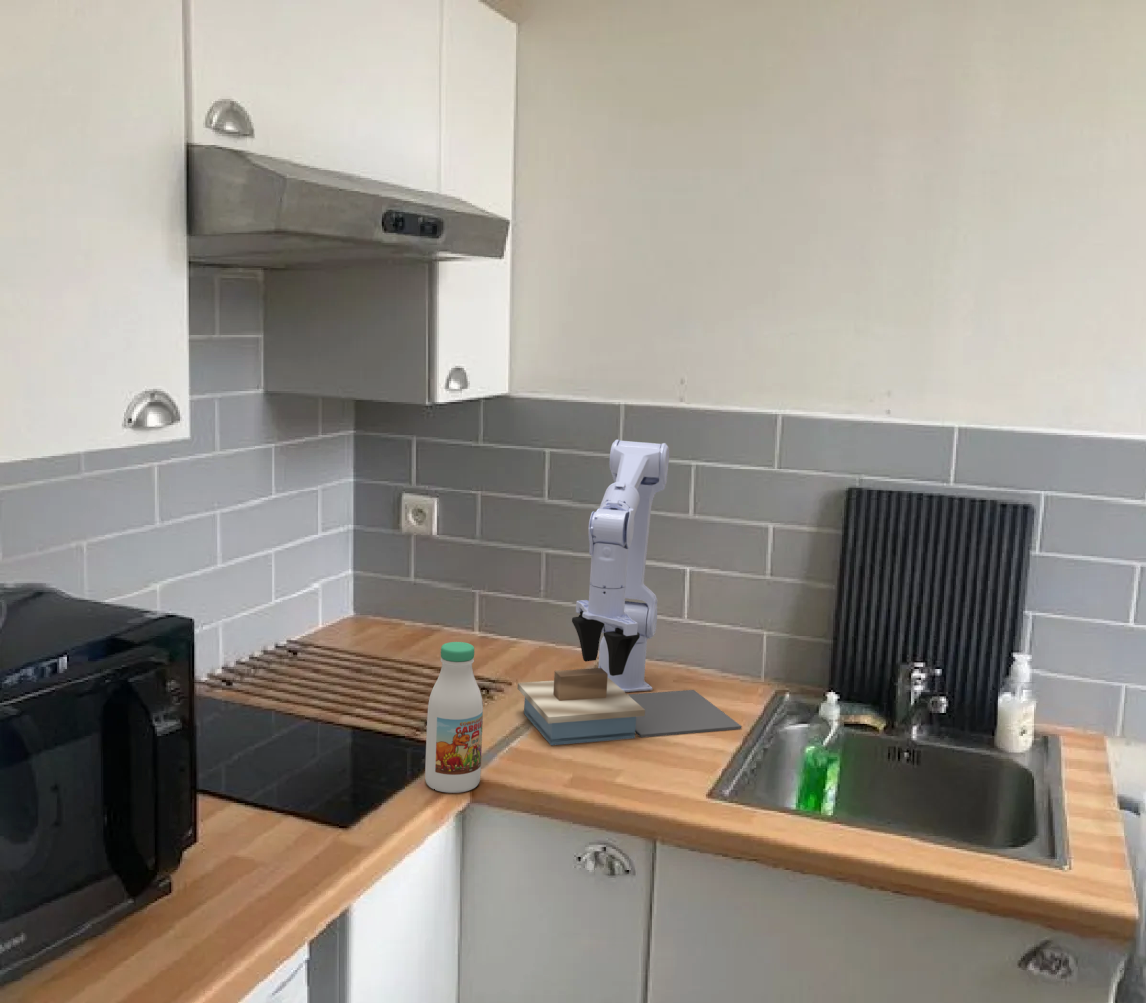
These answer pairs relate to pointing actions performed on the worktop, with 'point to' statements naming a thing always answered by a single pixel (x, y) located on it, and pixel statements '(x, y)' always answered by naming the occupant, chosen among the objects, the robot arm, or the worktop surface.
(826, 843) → the worktop surface
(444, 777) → the milk bottle
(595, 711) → the lid
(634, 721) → the dish
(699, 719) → the mat
